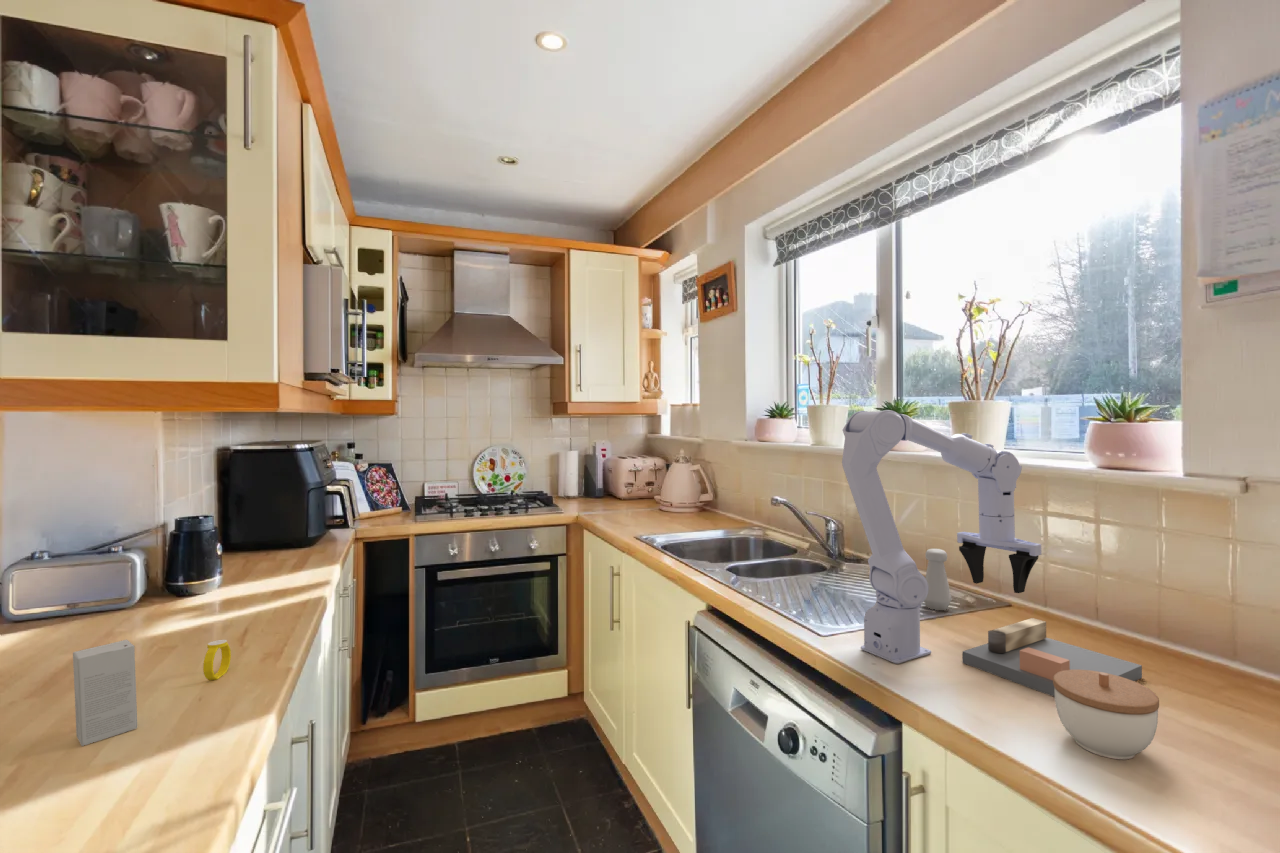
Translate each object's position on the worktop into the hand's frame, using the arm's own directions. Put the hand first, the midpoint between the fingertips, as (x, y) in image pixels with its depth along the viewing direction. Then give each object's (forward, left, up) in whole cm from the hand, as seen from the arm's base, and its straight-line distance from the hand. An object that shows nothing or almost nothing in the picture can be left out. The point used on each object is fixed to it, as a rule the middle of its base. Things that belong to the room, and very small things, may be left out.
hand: (998, 587), depth 111 cm
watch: (-127, +58, -11) cm, 140 cm away
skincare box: (-138, +43, -11) cm, 145 cm away
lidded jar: (-23, -27, -11) cm, 37 cm away
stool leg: (-3, -5, -8) cm, 10 cm away
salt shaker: (+9, +19, -11) cm, 24 cm away
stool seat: (-5, -11, -11) cm, 16 cm away
